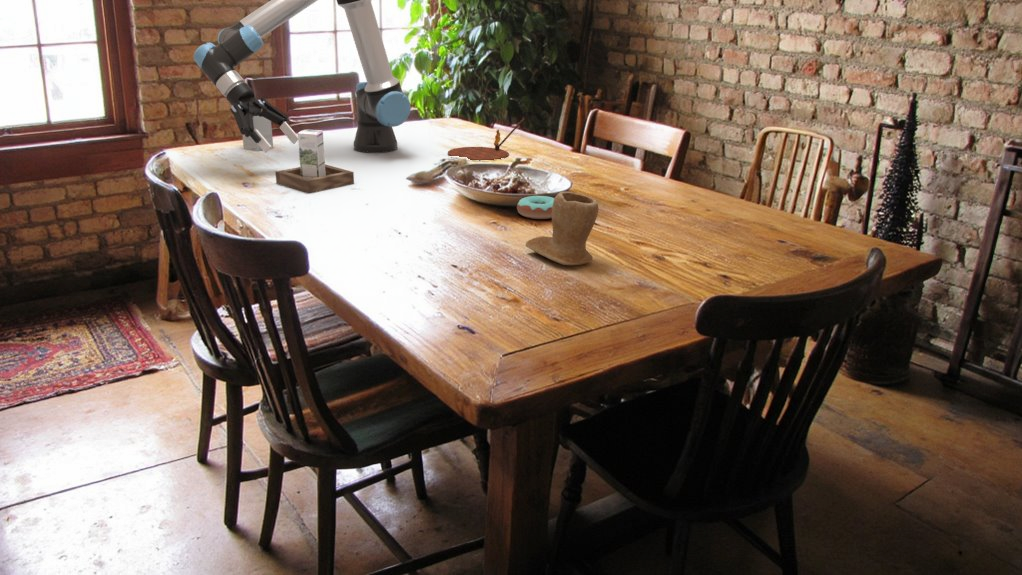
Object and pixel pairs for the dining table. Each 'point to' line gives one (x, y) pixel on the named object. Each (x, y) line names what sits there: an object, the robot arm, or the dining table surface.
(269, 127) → the supplement box
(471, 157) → the incense holder
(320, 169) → the syrup box
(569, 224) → the brown hollow piece
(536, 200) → the donut
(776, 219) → the dining table surface
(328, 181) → the walnut tray
